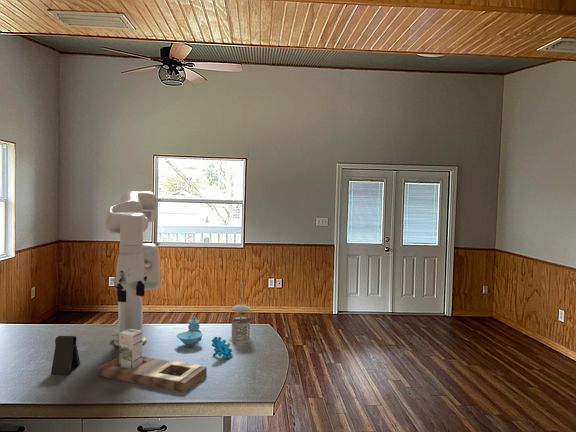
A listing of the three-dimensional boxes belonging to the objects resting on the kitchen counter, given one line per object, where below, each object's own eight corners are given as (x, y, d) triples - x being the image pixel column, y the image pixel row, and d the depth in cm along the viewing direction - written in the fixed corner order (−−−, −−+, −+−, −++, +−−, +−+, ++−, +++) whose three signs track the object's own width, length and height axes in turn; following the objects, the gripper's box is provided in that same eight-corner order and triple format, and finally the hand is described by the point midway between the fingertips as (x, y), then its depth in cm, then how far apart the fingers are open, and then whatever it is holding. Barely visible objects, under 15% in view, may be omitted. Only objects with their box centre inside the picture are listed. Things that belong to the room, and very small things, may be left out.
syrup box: (143, 370, 160) (143, 329, 159) (132, 376, 154) (132, 334, 153) (129, 367, 162) (129, 327, 161) (118, 373, 156) (118, 332, 155)
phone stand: (64, 364, 163) (63, 332, 162) (80, 365, 163) (80, 332, 162) (50, 374, 154) (50, 340, 153) (68, 375, 154) (67, 340, 153)
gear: (224, 359, 167) (209, 337, 170) (213, 369, 168) (199, 346, 172) (238, 354, 177) (225, 333, 180) (228, 363, 178) (215, 342, 182)
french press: (224, 339, 195) (225, 281, 194) (246, 333, 203) (247, 278, 202) (237, 345, 188) (238, 285, 187) (259, 339, 196) (260, 282, 194)
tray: (98, 375, 154) (98, 366, 154) (125, 361, 167) (125, 352, 167) (184, 392, 143) (184, 382, 143) (206, 375, 156) (206, 366, 156)
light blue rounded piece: (200, 350, 181) (200, 328, 181) (173, 349, 181) (174, 327, 180) (207, 336, 199) (207, 315, 199) (183, 335, 199) (183, 315, 198)
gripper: (138, 246, 165) (138, 292, 166) (104, 252, 149) (104, 303, 150) (155, 247, 163) (155, 294, 163) (123, 253, 146) (123, 305, 147)
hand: (131, 298), depth 156 cm, fingers open, 9 cm apart
